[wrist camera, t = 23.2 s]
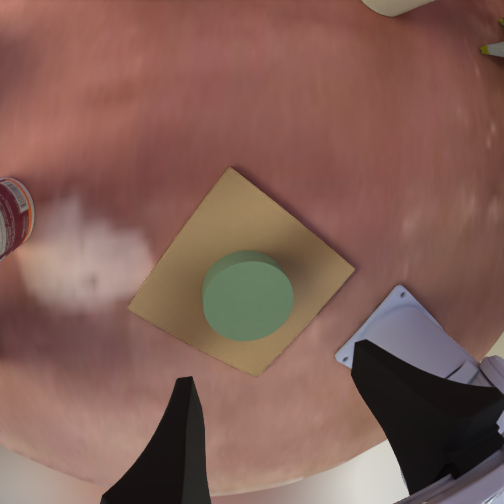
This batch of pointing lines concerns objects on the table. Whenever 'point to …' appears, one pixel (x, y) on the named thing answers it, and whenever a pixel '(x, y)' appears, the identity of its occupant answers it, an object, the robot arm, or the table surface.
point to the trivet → (229, 241)
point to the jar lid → (246, 296)
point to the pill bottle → (14, 215)
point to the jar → (394, 6)
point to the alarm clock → (494, 46)
